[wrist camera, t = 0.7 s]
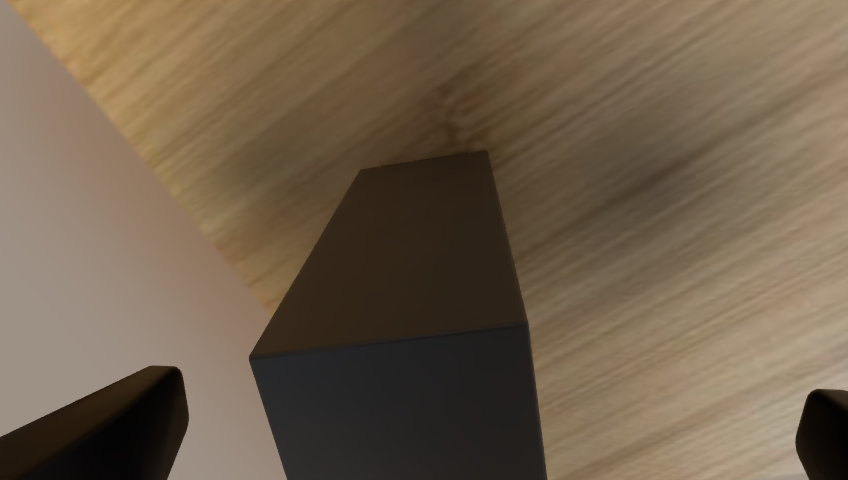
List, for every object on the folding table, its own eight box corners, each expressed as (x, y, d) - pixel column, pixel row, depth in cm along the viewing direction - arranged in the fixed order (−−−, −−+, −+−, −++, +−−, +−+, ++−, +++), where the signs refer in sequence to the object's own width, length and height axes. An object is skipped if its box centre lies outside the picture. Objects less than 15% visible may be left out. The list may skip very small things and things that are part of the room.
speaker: (508, 305, 22) (562, 604, 11) (391, 321, 23) (331, 621, 12) (487, 149, 20) (528, 322, 9) (359, 169, 21) (246, 357, 9)
